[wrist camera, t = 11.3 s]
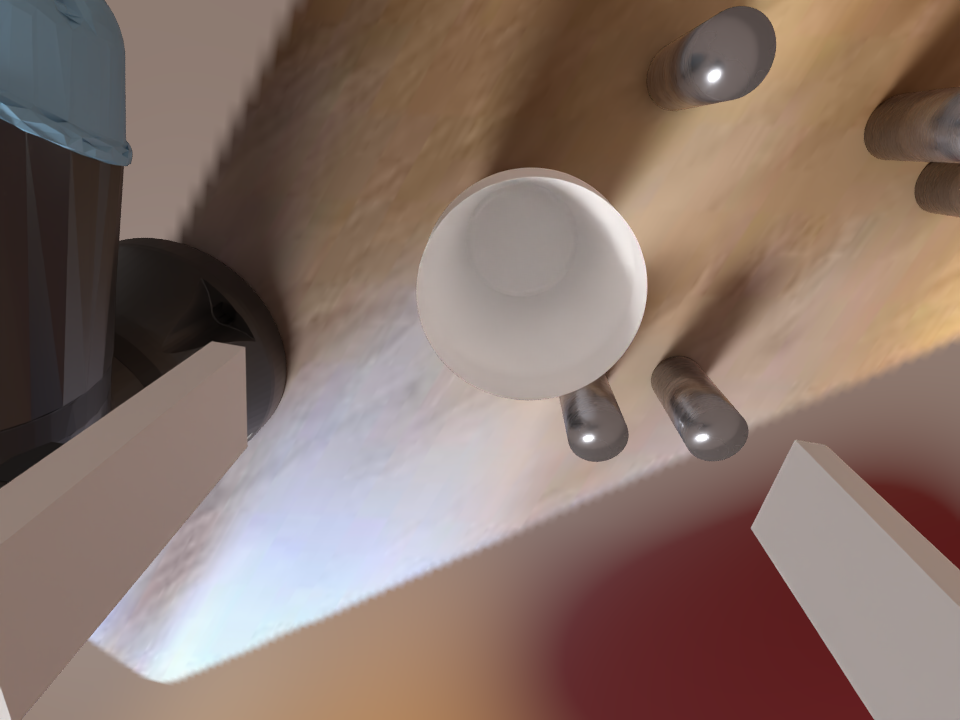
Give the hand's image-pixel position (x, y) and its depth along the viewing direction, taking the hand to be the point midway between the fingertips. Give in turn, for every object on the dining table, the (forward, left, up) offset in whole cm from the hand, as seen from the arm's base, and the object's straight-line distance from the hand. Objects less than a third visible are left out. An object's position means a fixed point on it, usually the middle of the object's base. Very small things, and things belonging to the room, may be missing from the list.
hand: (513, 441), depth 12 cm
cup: (0, +1, -20) cm, 20 cm away
